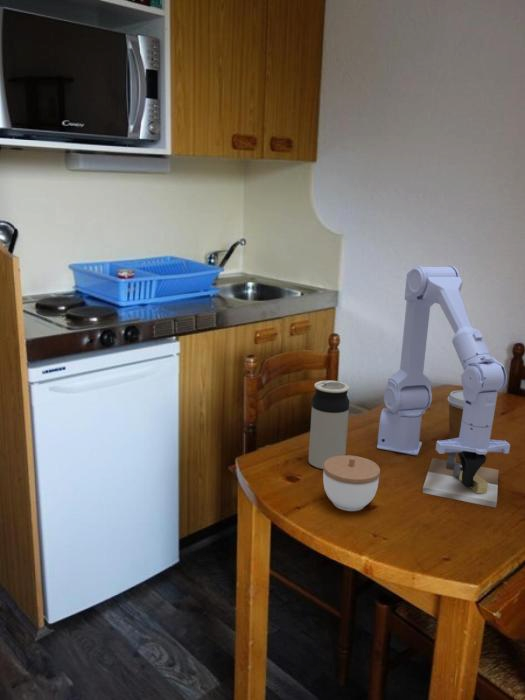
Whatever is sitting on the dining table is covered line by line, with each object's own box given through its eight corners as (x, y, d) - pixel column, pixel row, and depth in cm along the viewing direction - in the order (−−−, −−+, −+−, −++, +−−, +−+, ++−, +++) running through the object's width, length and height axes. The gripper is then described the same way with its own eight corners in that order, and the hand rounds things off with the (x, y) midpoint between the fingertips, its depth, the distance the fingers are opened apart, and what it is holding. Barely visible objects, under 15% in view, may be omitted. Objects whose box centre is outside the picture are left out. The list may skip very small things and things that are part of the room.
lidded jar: (309, 497, 121) (312, 452, 118) (353, 486, 126) (357, 443, 124) (342, 522, 112) (346, 474, 109) (388, 510, 117) (393, 464, 115)
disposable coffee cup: (477, 453, 145) (484, 405, 142) (437, 443, 150) (443, 396, 147) (487, 441, 153) (493, 394, 150) (448, 432, 158) (454, 387, 155)
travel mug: (351, 463, 137) (358, 386, 132) (329, 474, 131) (335, 393, 126) (323, 452, 142) (328, 377, 137) (300, 462, 136) (305, 384, 132)
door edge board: (422, 492, 124) (423, 487, 124) (431, 462, 139) (432, 457, 139) (496, 507, 119) (496, 502, 119) (497, 474, 134) (498, 469, 134)
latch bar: (450, 473, 130) (451, 462, 129) (461, 472, 131) (463, 461, 130) (475, 493, 122) (477, 481, 121) (488, 491, 122) (489, 479, 122)
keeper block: (446, 468, 133) (447, 458, 133) (448, 461, 137) (449, 451, 136) (453, 470, 133) (455, 459, 132) (455, 462, 137) (456, 452, 136)
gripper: (450, 429, 116) (440, 495, 119) (522, 430, 118) (510, 494, 121) (435, 415, 123) (426, 478, 126) (503, 416, 125) (493, 477, 128)
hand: (466, 484), depth 124 cm, fingers closed, pressing on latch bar
